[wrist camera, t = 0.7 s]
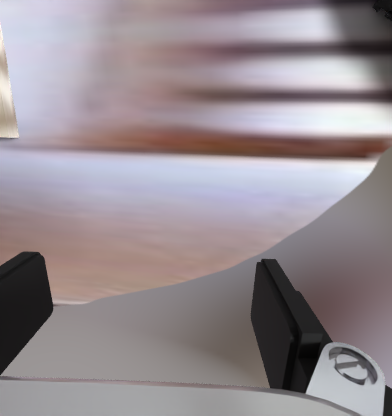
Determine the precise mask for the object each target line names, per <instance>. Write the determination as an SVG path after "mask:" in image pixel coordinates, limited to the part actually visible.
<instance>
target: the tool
mask: <svg viewBox="0 0 392 416" xmlns="http://www.w3.org/2000/svg"><path fill="white" fill-rule="evenodd" d="M373 8H374V9H375V11H376V12H378V11H379V10H380V9H383V10H384V11H386V12H387V13H386V15H385V16H386V17H387V19H389V20H391V21H392V0H377V2H376V3H375V5H374V6H373Z"/></svg>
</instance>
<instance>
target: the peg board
mask: <svg viewBox="0 0 392 416" xmlns="http://www.w3.org/2000/svg"><path fill="white" fill-rule="evenodd" d="M0 137H6V138H19V134H18V128H17V122H16V115H15V109H14V103H13V97H12V91H11V85H10V79H9V73H8V67H7V61H6V54H5V48H4V42H3V36H2V30H1V24H0Z"/></svg>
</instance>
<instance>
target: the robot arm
mask: <svg viewBox="0 0 392 416" xmlns="http://www.w3.org/2000/svg"><path fill="white" fill-rule="evenodd" d="M52 312H53V302H52V297H51V292H50V286H49V281H48V275H47V270H46V265H45V259H44V257H43V256H42V255H41V254H40V253H39V252H22V253H20V254H18V255H17V256H15V257H14V258H12V259H10V260H9V261H7V262H6V263H4V264H3V265H1V266H0V375H1V374H2V373H3V371H4V370H5V369H6V368H7V367H8V365H9V364H10V363H11V362H12V361H13V360H14V358H15V357H16V356H17V355H18V354H19V352H20V351H21V350H22V349H23V348H24V346H25V345H26V344H27V343H28V342H29V340H30V339H31V338H32V337H33V336H34V335H35V333H36V332H37V331H38V330H39V329H40V327H41V326H42V325H43V324H44V323H45V322H46V320H47V319H48V318H49V317H50V316H51V314H52ZM251 321H252V325H253V328H254V332H255V336H256V339H257V342H258V346H259V350H260V353H261V357H262V360H263V363H264V367H265V371H266V375H267V378H268V382H269V385H270V388H263V387H250V386H234V385H218V384H199V383H176V382H150V381H126V380H99V379H98V380H97V379H69V378H41V377H40V378H39V377H8V376H0V416H392V389H391V388H390V387H388V386H386V385H385V378H384V374H383V372H382V370H381V369H380V367H379V366H378V365H377V364H376V362H375V361H374V360H373V359H372V358H370V357H369V356H368V355H367V354H366V353H364V352H362V351H361V350H359V349H357V348H355V347H353V346H351V345H348V344H344V343H339V342H333V341H332V340H331V338H330V337H329V335H328V334H327V332H326V331H325V329H324V328H323V326H322V325H321V323H320V322H319V320H318V319H317V317H316V315H315V314H314V313H313V311H312V310H311V308H310V306H309V305H308V303H307V302H306V300H305V299H304V297H303V296H302V294H301V293H300V292H299V291H296V290H295V289H294V287H293V286H292V284H291V283H290V281H289V279H288V278H287V276H286V275H285V273H284V271H283V270H282V268H281V267H280V265H279V264H278V262H277V261H276V259H262V260H261V262H257V265H256V274H255V282H254V291H253V300H252V308H251Z"/></svg>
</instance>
